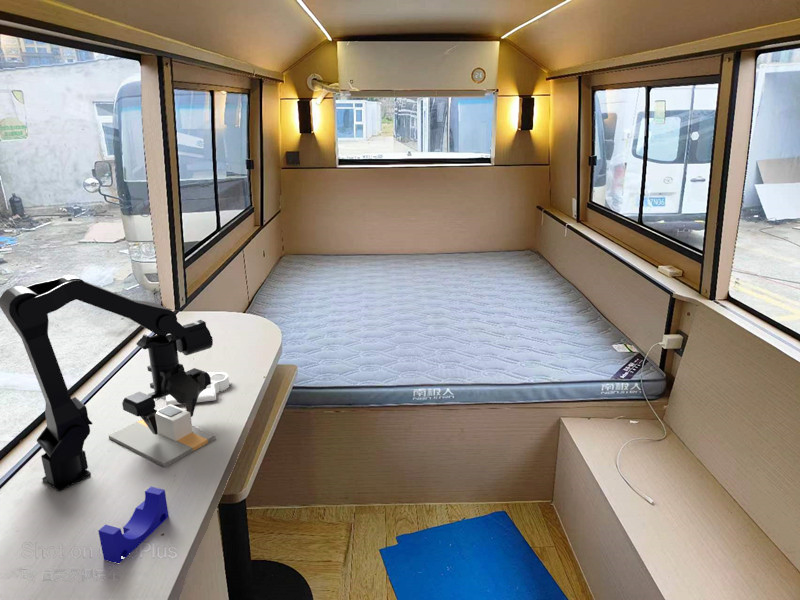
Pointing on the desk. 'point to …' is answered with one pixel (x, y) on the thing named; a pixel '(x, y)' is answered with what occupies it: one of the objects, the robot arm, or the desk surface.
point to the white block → (173, 422)
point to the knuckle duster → (207, 389)
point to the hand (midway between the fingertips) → (173, 424)
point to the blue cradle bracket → (135, 526)
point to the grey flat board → (159, 442)
